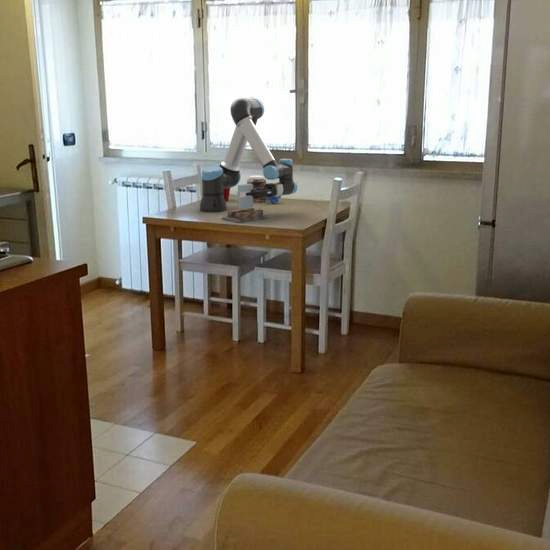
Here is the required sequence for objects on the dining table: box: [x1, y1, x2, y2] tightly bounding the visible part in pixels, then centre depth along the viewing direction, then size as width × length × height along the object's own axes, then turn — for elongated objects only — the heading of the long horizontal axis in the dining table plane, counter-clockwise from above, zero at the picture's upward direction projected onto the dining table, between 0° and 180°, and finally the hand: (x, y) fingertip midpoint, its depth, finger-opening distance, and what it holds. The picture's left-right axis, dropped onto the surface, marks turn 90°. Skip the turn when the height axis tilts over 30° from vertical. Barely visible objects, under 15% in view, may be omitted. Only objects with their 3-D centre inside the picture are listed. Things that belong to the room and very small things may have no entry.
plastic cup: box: [223, 188, 231, 202], centre depth 431 cm, size 11×11×12 cm
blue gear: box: [266, 195, 282, 204], centre depth 419 cm, size 12×7×12 cm, turn 120°
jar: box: [246, 174, 267, 203], centre depth 427 cm, size 12×12×15 cm
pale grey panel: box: [237, 183, 254, 210], centre depth 371 cm, size 8×2×12 cm, turn 131°
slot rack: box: [221, 207, 269, 224], centre depth 374 cm, size 20×14×4 cm
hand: (238, 194), depth 368 cm, fingers closed on pale grey panel, 2 cm apart
